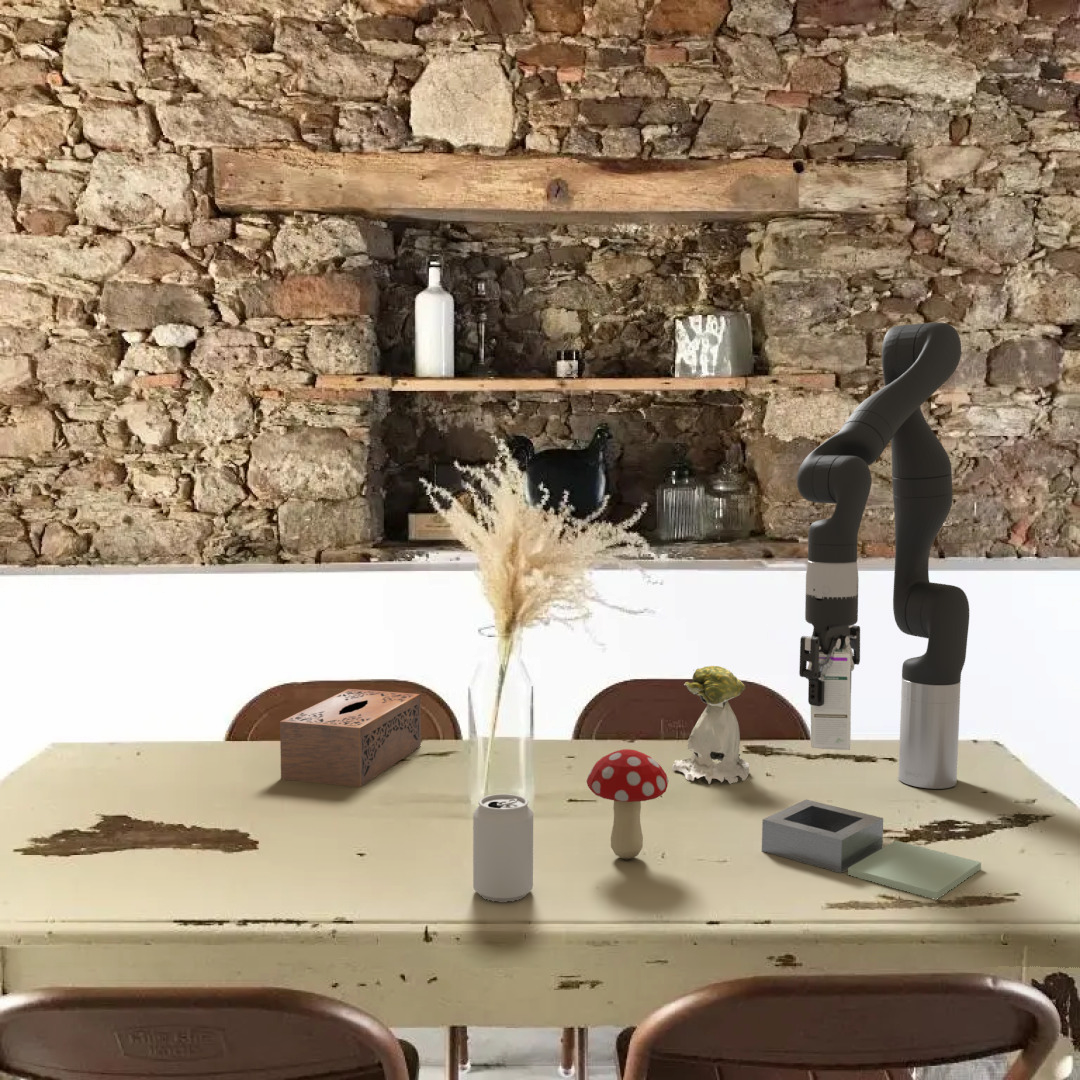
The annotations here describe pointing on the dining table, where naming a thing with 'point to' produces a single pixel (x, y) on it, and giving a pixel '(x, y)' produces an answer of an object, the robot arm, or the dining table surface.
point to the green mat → (915, 869)
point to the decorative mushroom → (627, 794)
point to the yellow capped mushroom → (714, 729)
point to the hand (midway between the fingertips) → (829, 699)
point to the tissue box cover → (350, 737)
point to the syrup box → (834, 706)
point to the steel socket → (822, 835)
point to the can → (503, 847)
